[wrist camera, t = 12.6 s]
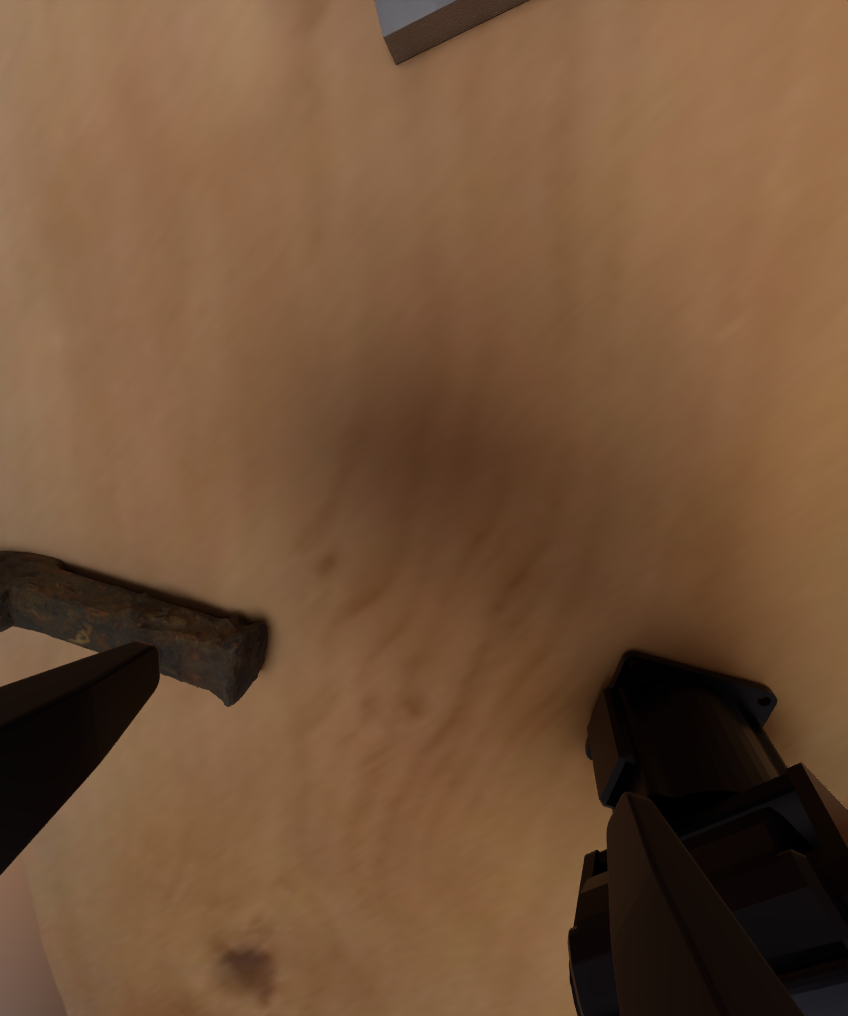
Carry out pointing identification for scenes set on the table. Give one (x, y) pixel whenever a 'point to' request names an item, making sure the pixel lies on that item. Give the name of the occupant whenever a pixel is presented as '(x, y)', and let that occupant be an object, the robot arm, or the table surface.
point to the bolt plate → (431, 21)
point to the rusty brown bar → (130, 624)
